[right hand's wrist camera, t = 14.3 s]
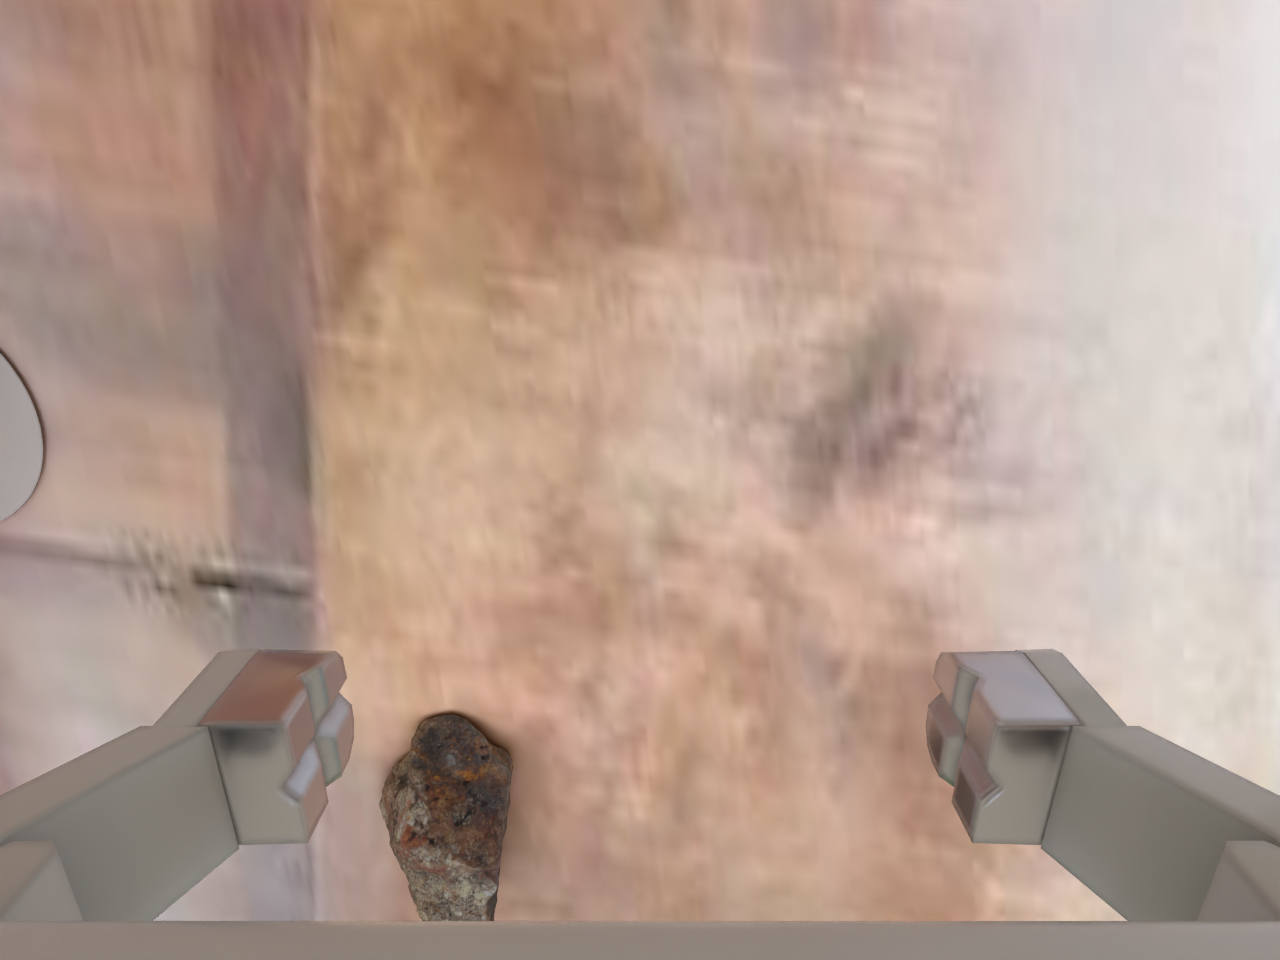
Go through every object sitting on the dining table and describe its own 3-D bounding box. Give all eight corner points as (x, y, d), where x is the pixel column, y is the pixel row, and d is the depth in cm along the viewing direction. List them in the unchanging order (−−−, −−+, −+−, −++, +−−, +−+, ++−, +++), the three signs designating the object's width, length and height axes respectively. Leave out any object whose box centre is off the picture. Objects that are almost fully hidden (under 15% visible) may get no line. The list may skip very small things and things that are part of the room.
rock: (553, 729, 53) (411, 692, 52) (541, 819, 45) (372, 778, 43) (498, 888, 57) (366, 857, 56) (478, 998, 49) (322, 964, 47)
